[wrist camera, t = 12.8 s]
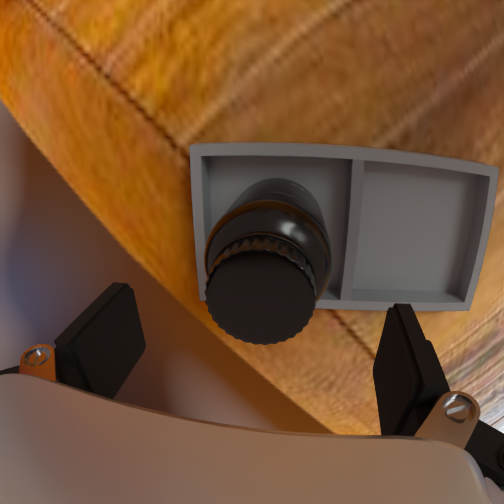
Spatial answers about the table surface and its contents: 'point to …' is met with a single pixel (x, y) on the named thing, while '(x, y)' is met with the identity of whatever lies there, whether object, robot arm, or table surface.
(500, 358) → the table surface
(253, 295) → the supplement bottle
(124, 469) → the robot arm
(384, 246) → the holder
